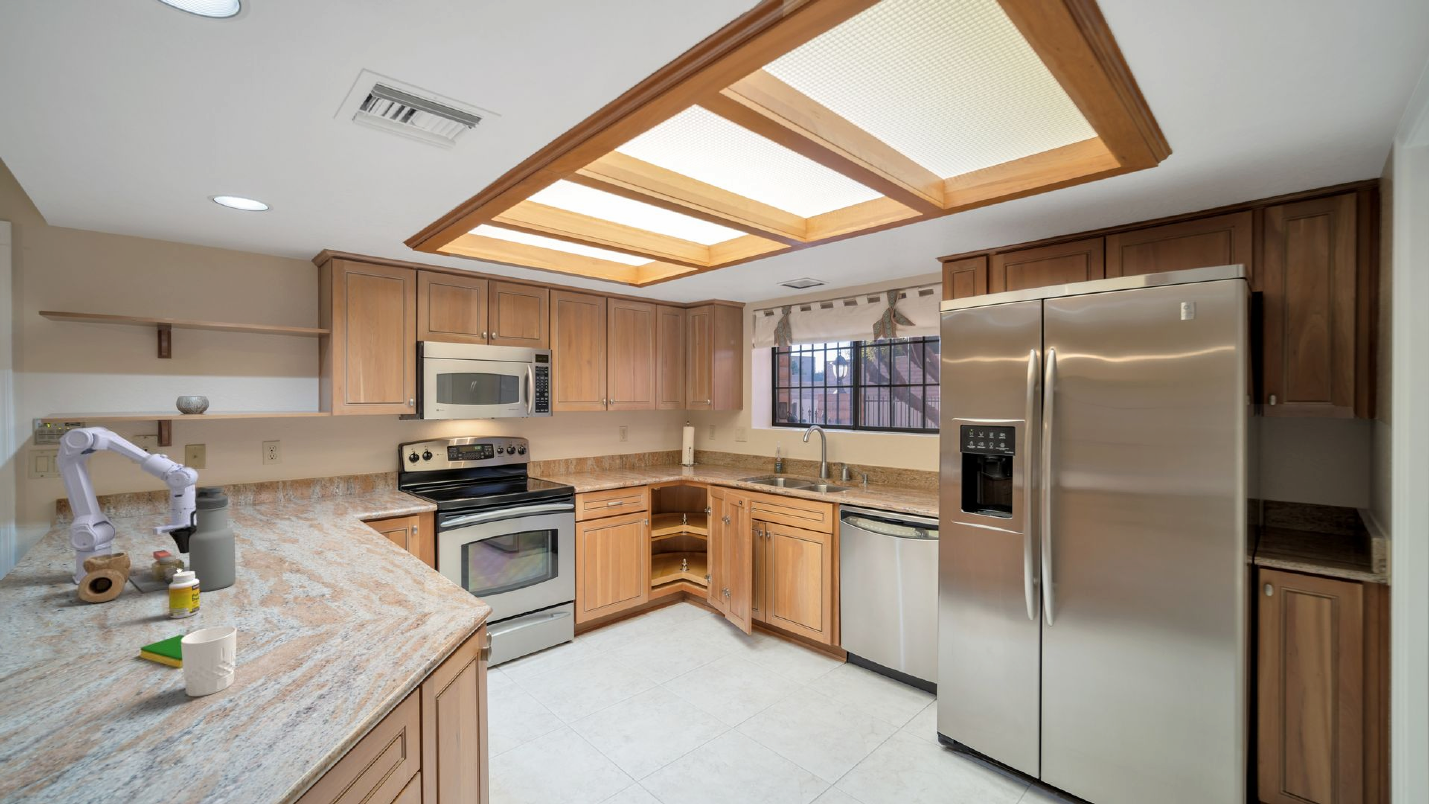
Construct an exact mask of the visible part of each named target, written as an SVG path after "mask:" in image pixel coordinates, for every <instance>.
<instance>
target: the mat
mask: <svg viewBox="0 0 1429 804" xmlns="http://www.w3.org/2000/svg"><path fill="white" fill-rule="evenodd" d="M184 571H185V572H186V571H190V566H189V565H188V566H184ZM128 580H129V581H130V582H131V583H133V584H134V586H135V587H137V589H138V590H139V591H140V592H141V593H143V594H145V593H149V592H150V591H151V592H156V591H161V590H165V588H166V589H169V584H167V583H166V582H165V581H159V582H156V581H155V580H154V579H153V578H152V572H150V573H144V574H140V575H134V576H129V579H128ZM151 592H150V593H151Z"/></svg>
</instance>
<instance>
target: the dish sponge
mask: <svg viewBox="0 0 1429 804" xmlns="http://www.w3.org/2000/svg"><path fill="white" fill-rule="evenodd" d="M185 636H186V635H183V634H179V635H176V636H173V637H170V638H166V639H163V640H160V641H158V642H153V643H150V644H148V645H144V646H141V647H140V658H141V659H146V660H149V661H153V662H157V663H160V664H165V665H168V666H172V667H175V668H179V669H183V662H182V649H181V639H182V638H183V637H185Z"/></svg>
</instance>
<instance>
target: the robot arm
mask: <svg viewBox="0 0 1429 804" xmlns="http://www.w3.org/2000/svg"><path fill="white" fill-rule="evenodd" d="M59 442H60V446H59V449H58V452H57V454H56V458H55V461H56V465H57V467H58V471H59V473H60V477H61V481H62V484H63V487H64V489H65V493H66V496H67V500H68V503H69V506H70V509H71V512H72V516H73V519H74V520H73V521H72V523H71V524H70V527H69V530H70V536H69V540H68V541H69V542H68V543H69V545H70V546H71V547H72V548H73V549H74V550H75V573H76V575H73V576H72V577H71V578H72V580H73V581H74V583H75V584H77V585H79V583H80V581H81V580H82V578H83V577H84V576H85V575H87V574H88V573H87V572H86V571H85V570H84V567H83V563H84V562H85V561H84V560H85V559H86V558H89V557H91V556H100V555H105V554H113V553H112V551H113V550H112V540H113V539H115V537H116V536H117V527H115V525H114V524H112V522H111V521H110V519H109V517H108V516H107V515H106V514H104V513H103V512H101V507H100V505H99V502H98V499H97V495H96V491H95V489H94V485H93V482H92V479H91V476H90V473H89V470H88V466H87V463H86V461H87V460H88V459H89V458H90V457H91V456H92V455H93V454H94V453H95V452H96V451H99V450H100V451H101V450H105V451H108V450H109V451H112V452H114V453H117V454H119V455H121V456H123V457H125V458H128V459H130V460H132V461H134V462H136V463H138V464H140V468H141V470H142V471H144V472H146V473H147V474H150V475H152V476H154V477H156V478H157V479H159V480H162V481H163V482H164V483H165V485H166V486H167V487H168V488H169V508H170V523H168V524H165V525H164V524H163V525H160V526H155V527H153V528H152V535H155V536H159V535H162V534H167V533H168V534H169V535H170V537H171V538H172V539H173V541H174V542H175V544H176V546H177V549H178V551H179V554H182V555H183V554H187V553H188V554H189V538H190V536H191V535H192V534H194V533H195V532H196V531H197V529H194V528H192V527H191V526H190V514H191V512H193V511H195V509H196V507H195V505H196V504H195V495H196V485H195V484H196V483H198V480H199V473H198V471H196V470H195V469H194V468H193V467H190V466H185V467H184V464H183V463H177V462H175V461H173V460H171V459H170V458H168V457H169V456H168V455H166V454H159V453H153V454H150V453H149V452H146V451H145V450H144V449H141V448H140V447H138V446H137V445H135V444H134V443H131V442H130V441H128V440H126V439H125V438H123V437H121V436H120V435H119V434H117V433H116V432H114V431H111V430H109V429H107V428H105V427H103V426H92V427H83V428H81V427H79V428H78V427H77V428H72V429H69V431H67V432H66V433H65V434H64V435H62V436H61V437H60V438H59ZM194 525H195V526H197V521H196V514H195V515H194Z"/></svg>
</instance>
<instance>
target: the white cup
mask: <svg viewBox="0 0 1429 804" xmlns="http://www.w3.org/2000/svg"><path fill="white" fill-rule="evenodd" d="M237 630H238V629H237V627H235V626H233V625H221V626H220V625H219V626H213V627H208V628H204V629H199V630H196V631H193V632H191V633H189V634H186V635H184V636H185V637H183V638H182V639H181V649H182V662H183V668H182V669H183V677H184V683H185V684H184V685H185V694H186V695H188V697H202V696H208V695H211V694H215V693H218V692H219V693H220V691H223V690H225V689H227V688H229V687H230V686H232V685H233V683H234V681H235V667H236V656H237V655H236V654H237V634H238V633H237Z"/></svg>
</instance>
